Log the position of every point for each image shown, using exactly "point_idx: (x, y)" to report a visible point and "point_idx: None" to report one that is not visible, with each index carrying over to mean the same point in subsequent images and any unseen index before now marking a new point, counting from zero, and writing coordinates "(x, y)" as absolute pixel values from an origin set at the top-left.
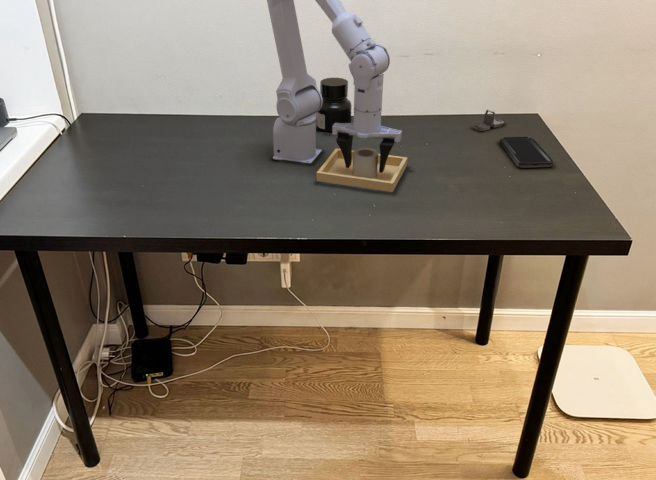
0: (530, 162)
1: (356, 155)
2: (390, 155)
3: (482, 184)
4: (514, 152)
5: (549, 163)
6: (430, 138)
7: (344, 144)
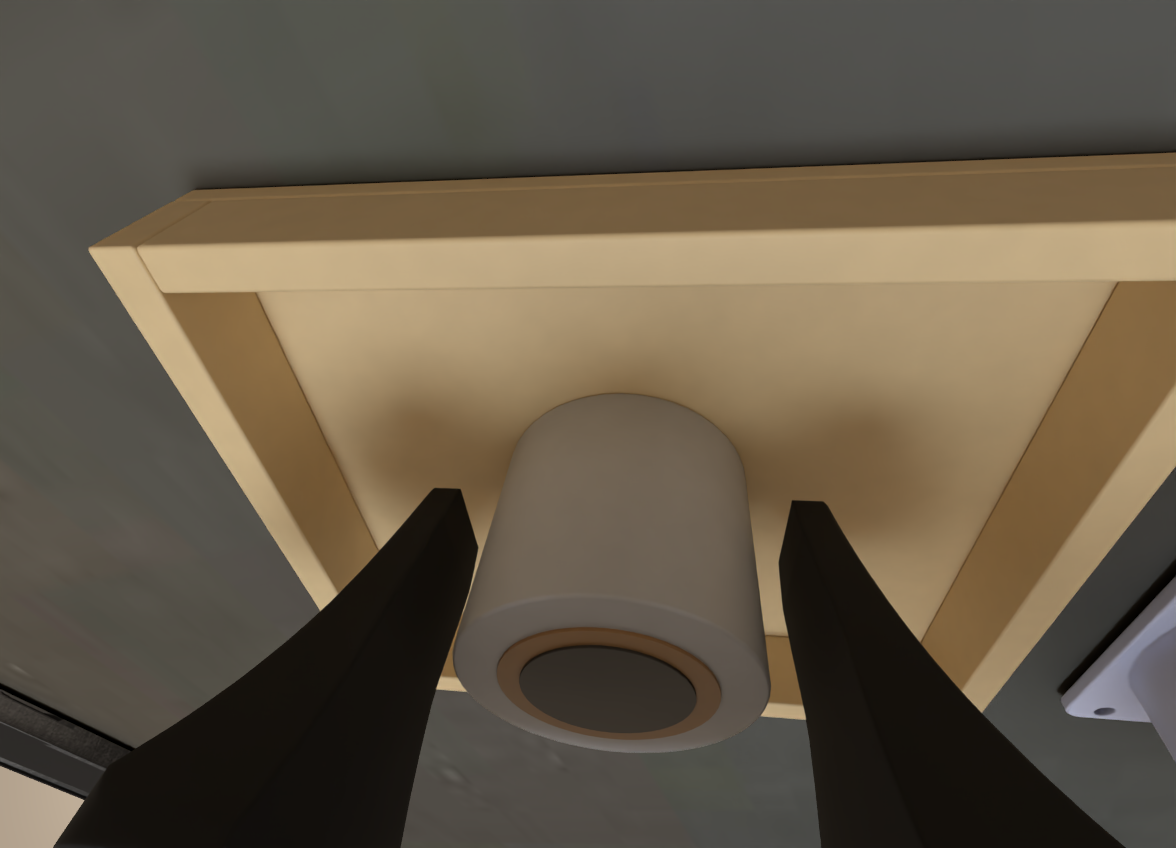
0: None
1: (704, 637)
2: None
3: None
4: (61, 750)
5: None
6: (463, 801)
7: (963, 834)
